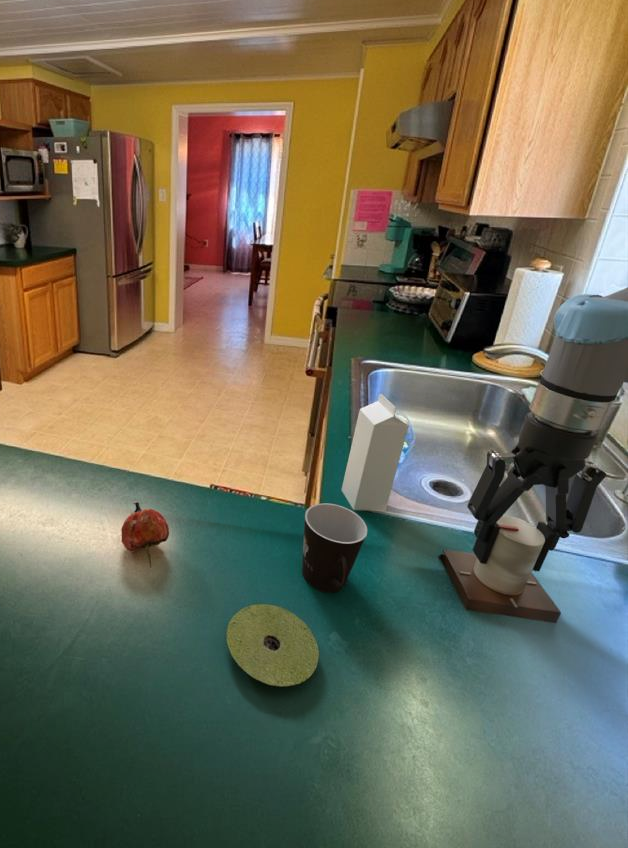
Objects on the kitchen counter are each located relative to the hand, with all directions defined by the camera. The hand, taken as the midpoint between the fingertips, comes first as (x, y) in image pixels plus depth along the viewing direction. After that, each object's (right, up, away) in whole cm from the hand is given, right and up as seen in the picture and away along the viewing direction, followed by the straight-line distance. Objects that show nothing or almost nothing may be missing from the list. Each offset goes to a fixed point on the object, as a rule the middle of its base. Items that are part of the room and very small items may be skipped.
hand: (505, 560), depth 69 cm
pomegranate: (-53, -1, +5) cm, 53 cm away
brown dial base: (0, -5, +2) cm, 5 cm away
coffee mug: (-27, -4, +1) cm, 27 cm away
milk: (-14, +2, +19) cm, 23 cm away
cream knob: (0, -3, +1) cm, 3 cm away
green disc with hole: (-36, -8, -10) cm, 38 cm away
